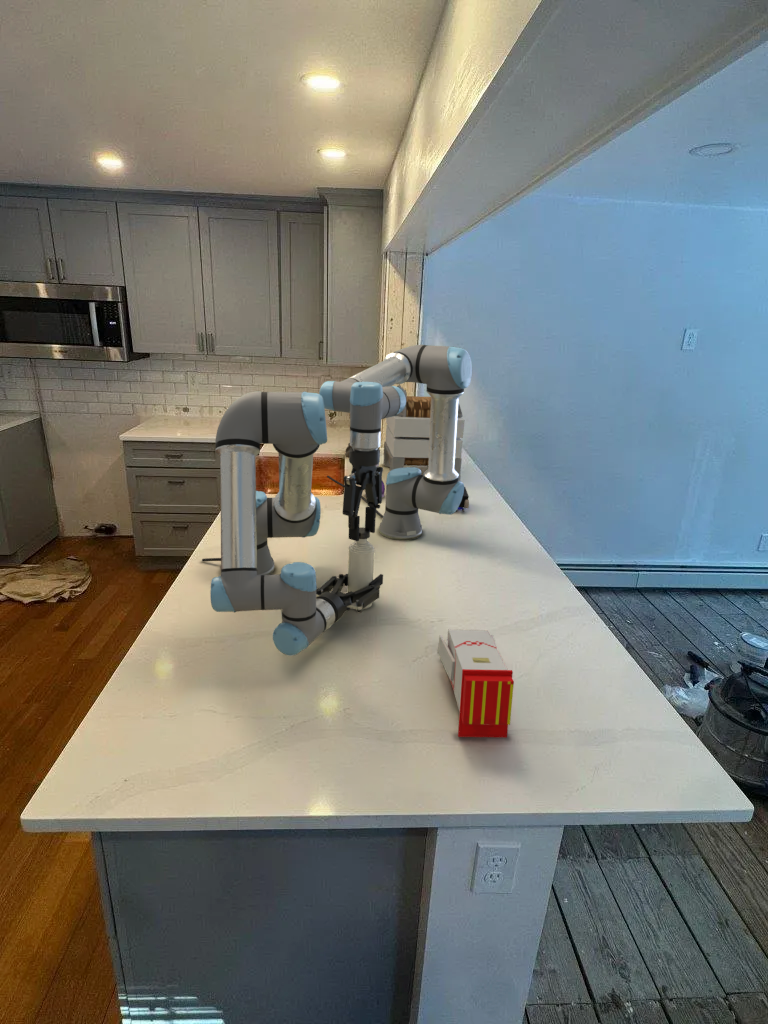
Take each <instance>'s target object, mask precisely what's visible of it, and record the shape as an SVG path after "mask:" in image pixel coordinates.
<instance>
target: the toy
mask: <svg viewBox="0 0 768 1024" xmlns="http://www.w3.org/2000/svg"><path fill="white" fill-rule="evenodd" d="M446 640H447V643H446V641H445V639H444V636H443V635H442V634H439V637H438V646H437V656H438V657H439V659H440V661H441V663H442V666H443V668H444V670H445V672H446V674H447V677H448V679H449V681H450V684H451V687H452V690H453V693H454V697H455V701H456V705H457V708H458V711H459V714H458V715H459V716H458V730H457V731H458V732H457V737H458V738H508V731H509V726H510V725H511V717H512V707H513V697H514V696H513V695H514V684H515V680H514V679H513V673H514V671H513V670H512V669H508V667H507V665H506V662H505V661H504V659H503V658H502V655H501V653H500V651H499V649H498V647H497V643H496V639H495V637H494V635H493V634H491V632H490V631H489V629H467V628H466V629H465V628H463V629H461V628H460V629H459V628H448V630H447V639H446Z"/></svg>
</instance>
